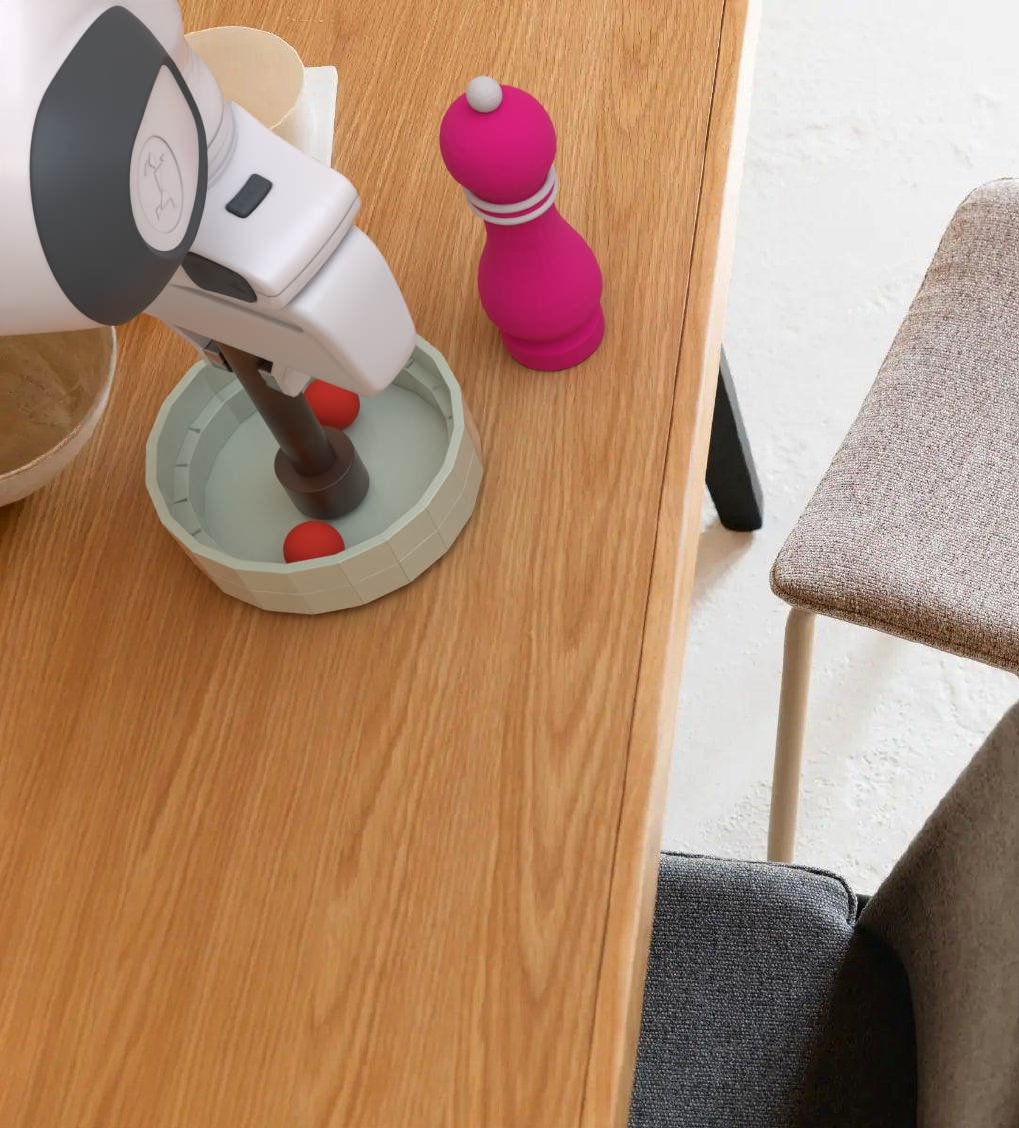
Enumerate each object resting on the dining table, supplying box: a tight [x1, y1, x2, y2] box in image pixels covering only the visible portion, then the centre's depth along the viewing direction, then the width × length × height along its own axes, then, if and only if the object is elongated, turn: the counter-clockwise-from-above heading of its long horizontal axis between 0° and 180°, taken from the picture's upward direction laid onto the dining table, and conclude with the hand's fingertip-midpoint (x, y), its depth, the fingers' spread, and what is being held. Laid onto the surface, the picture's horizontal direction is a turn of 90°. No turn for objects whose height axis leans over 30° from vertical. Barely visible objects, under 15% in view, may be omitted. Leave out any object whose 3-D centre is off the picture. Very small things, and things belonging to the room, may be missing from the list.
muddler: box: [214, 340, 370, 520], centre depth 79 cm, size 4×4×16 cm
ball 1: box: [303, 379, 360, 430], centre depth 87 cm, size 3×3×3 cm
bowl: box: [144, 332, 485, 616], centre depth 85 cm, size 17×17×6 cm
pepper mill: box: [438, 75, 606, 372], centre depth 84 cm, size 7×7×20 cm
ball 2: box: [283, 521, 345, 564], centre depth 82 cm, size 3×3×3 cm
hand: (261, 371), depth 76 cm, fingers closed on muddler, 2 cm apart
